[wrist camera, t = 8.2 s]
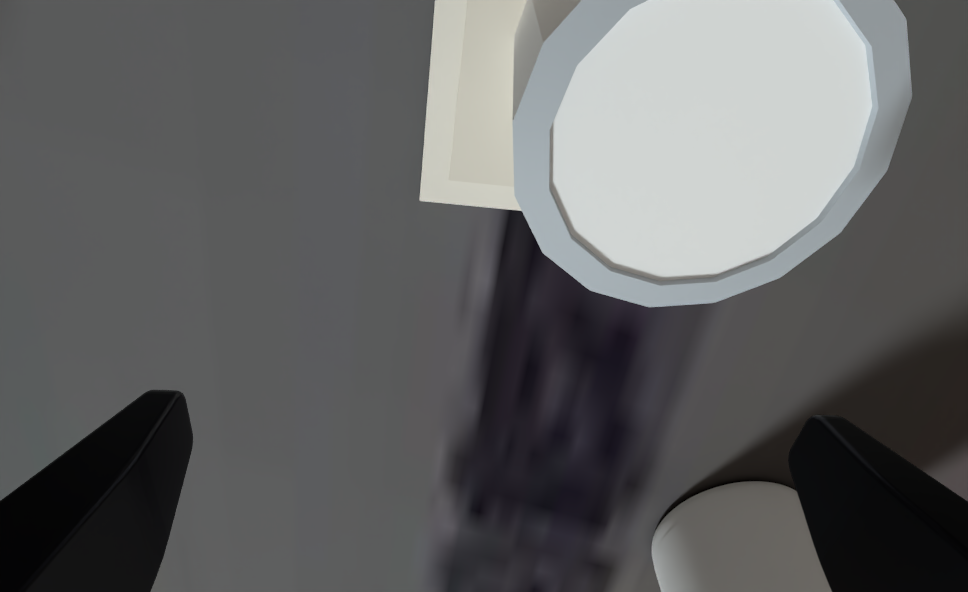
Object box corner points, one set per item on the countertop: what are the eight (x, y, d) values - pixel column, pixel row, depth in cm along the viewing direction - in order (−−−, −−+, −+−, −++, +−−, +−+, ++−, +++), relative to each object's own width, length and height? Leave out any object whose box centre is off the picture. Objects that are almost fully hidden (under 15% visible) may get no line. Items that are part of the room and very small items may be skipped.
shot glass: (435, 24, 16) (427, 114, 10) (676, -177, 14) (839, -207, 8) (577, 214, 19) (631, 364, 13) (790, 75, 17) (963, 183, 11)
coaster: (420, 192, 19) (419, 202, 19) (452, -224, 14) (453, -227, 13) (727, 222, 20) (735, 232, 20) (873, -152, 15) (889, -152, 14)
